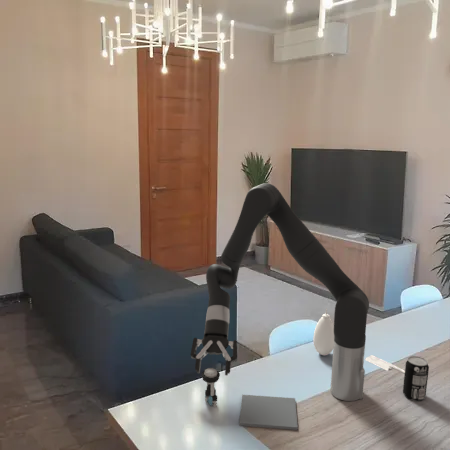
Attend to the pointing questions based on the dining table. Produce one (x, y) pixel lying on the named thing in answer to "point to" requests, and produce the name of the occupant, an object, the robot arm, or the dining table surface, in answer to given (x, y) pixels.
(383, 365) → the white plastic strip tool
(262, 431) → the dining table surface
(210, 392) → the push button
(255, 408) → the rubber mat
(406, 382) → the beverage can
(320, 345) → the sauce bottle
